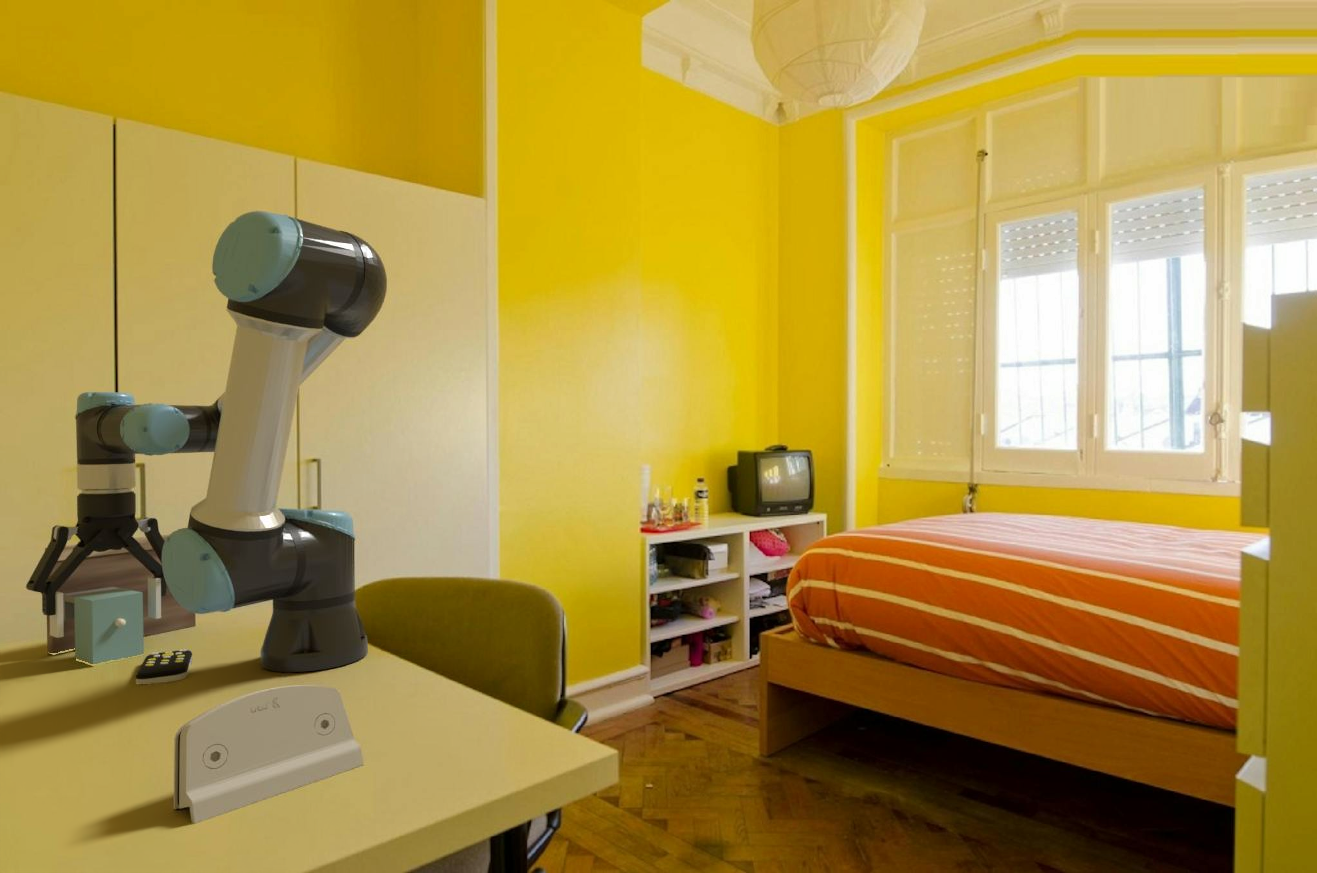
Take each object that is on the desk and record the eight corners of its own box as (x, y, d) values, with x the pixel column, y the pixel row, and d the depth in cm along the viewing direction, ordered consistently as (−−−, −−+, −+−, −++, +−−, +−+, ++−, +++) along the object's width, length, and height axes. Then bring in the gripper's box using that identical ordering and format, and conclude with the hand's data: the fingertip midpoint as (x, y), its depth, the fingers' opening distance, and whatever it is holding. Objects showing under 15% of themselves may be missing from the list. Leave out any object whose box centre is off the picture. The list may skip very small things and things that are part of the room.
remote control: (134, 689, 109) (133, 674, 109) (146, 665, 120) (146, 652, 120) (186, 682, 112) (185, 668, 112) (193, 659, 123) (192, 647, 123)
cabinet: (146, 656, 124) (145, 593, 124) (96, 668, 118) (95, 601, 118) (113, 646, 130) (112, 586, 130) (63, 657, 124) (62, 594, 124)
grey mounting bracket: (189, 825, 69) (174, 710, 72) (172, 827, 72) (158, 716, 75) (367, 763, 82) (349, 667, 84) (347, 767, 85) (330, 674, 87)
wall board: (196, 626, 144) (194, 532, 144) (53, 655, 125) (51, 548, 125) (189, 624, 145) (187, 532, 145) (46, 653, 126) (44, 547, 126)
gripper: (178, 485, 136) (178, 607, 136) (-2, 495, 115) (-1, 641, 115) (201, 486, 132) (202, 613, 132) (19, 498, 111) (20, 648, 111)
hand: (107, 626), depth 123 cm, fingers open, 13 cm apart
